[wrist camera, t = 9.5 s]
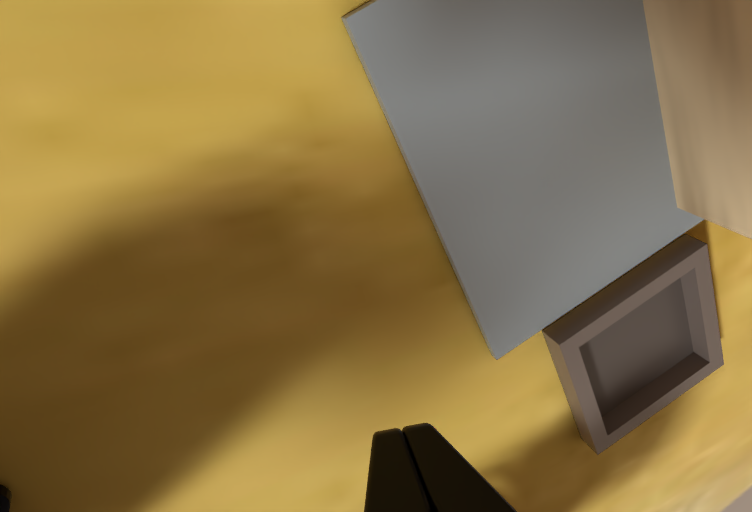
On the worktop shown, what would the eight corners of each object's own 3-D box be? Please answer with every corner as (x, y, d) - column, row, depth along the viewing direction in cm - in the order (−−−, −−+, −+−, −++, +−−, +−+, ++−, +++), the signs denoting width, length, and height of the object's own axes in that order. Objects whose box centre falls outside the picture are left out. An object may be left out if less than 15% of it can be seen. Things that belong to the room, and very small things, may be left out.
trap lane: (541, 467, 30) (581, 512, 28) (175, -353, 13) (192, -426, 11) (908, 206, 34) (973, 225, 31) (991, -733, 16) (1151, -859, 14)
